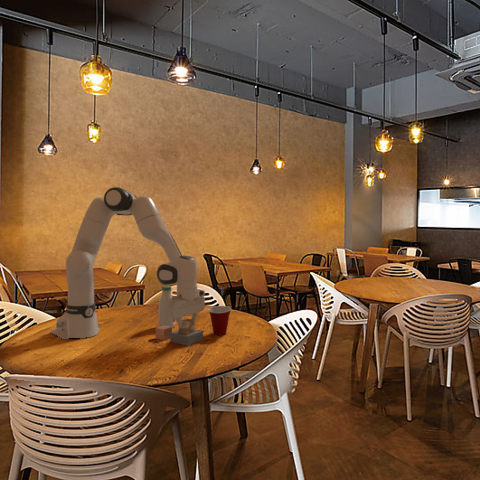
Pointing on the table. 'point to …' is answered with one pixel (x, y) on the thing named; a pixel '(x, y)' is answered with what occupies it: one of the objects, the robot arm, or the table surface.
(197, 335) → the slate base
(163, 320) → the milk bottle
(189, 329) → the maple cube
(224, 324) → the plastic cup
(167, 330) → the terracotta cube
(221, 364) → the table surface
